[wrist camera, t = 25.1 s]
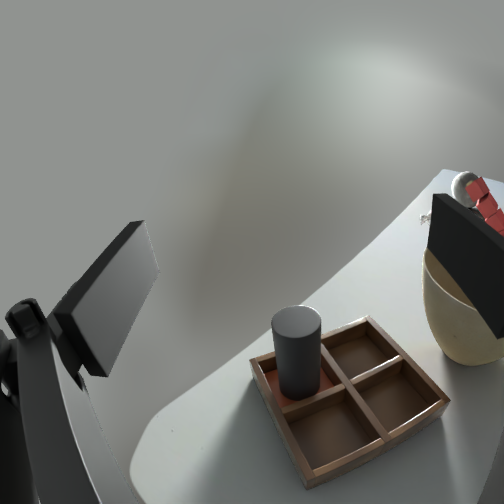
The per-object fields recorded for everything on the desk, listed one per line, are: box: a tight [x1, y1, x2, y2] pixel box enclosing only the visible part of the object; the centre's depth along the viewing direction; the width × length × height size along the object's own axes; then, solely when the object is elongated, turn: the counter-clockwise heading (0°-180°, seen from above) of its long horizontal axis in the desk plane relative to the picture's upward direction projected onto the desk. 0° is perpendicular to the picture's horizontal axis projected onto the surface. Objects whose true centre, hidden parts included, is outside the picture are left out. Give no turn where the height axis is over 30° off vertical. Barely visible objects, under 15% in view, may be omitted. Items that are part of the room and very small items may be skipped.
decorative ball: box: [452, 172, 483, 208], centre depth 68 cm, size 10×10×10 cm
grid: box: [249, 316, 451, 490], centre depth 30 cm, size 16×16×3 cm
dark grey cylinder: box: [271, 305, 321, 401], centre depth 30 cm, size 5×5×10 cm
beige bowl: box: [422, 247, 504, 366], centre depth 30 cm, size 18×18×12 cm
